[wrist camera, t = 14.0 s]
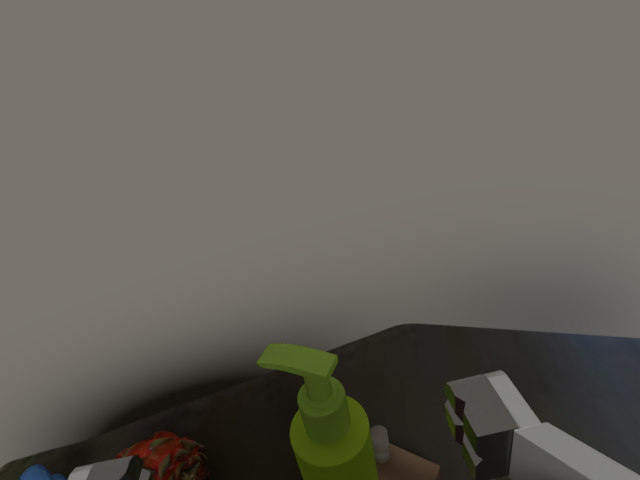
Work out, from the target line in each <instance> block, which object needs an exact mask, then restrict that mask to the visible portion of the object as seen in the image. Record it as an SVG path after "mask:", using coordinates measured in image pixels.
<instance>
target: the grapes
mask: <svg viewBox="0 0 640 480" xmlns="http://www.w3.org/2000/svg"><path fill="white" fill-rule="evenodd" d="M19 480H67V479H66V478H65V477H64V476H63V475H60V474H57V473H56V474H54V475H50V472H49V471H48V470H47V469H46V468H45V466H41V465H38V464H37V465H34V466H31V467H29V468H28V469H27V470H26V471H25V472H24V473H23V474H22V475H21V477H20V478H19Z"/></svg>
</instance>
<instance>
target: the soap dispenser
mask: <svg viewBox="0 0 640 480" xmlns="http://www.w3.org/2000/svg"><path fill="white" fill-rule="evenodd" d="M337 363H338V357H337V355H335V354H332V353H328V352H324V351H321V350H317V349H313V348H309V347H305V346H300V345H294V344H283V343H276V344H269V345H268V346H267V348H266V349H265V351H264V352H263V353H262V355H261V356H260V358H259V359H258V361H257V362H256V364H257V365H259V366H260V367H261V368H266V369H276V370H281V371H285V372H289V373H293V374H297V375H300V376H303V378H304V382H305V383H304V384H303V386H302V387H301V388H300V390H299V392H298V396H297V403H298V407H299V410H298V411H297V413H296V414H295V416H294V418H293V420H292V423H291V426H290V441H291V445H292V448H293V451H294V454H295V457H296V460H297V463H298V466H299V469H300V472H301V475H302V478H303V480H379V479H378V473H377V467H376V462H375V456H374V450H373V444H372V438H371V432H370V427H369V421H368V417H367V414H366V412H365V410H364V409H363V407H362V406H361V405H360V404H359V403H358V402H357V401H356V400H354V399H353V398H351V397H348V396H346V394H345V390H344V387H343V385H342V384H341V382H340V381H339V380H337V379H336V378H333V377H331V375H332V373H333V371H334V369H335V367H336V365H337Z"/></svg>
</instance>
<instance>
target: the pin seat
mask: <svg viewBox="0 0 640 480" xmlns="http://www.w3.org/2000/svg"><path fill="white" fill-rule="evenodd" d="M370 432H371V438H372V444H373V450H374V456H375V462H376V467H377V473H378V479H379V480H440V466H439V465H437V464H435V463H432V462H430V461H428V460H426V459H423V458H421V457H419V456H417V455H415V454H412V453H410V452H408V451H406V450H403V449H401V448H399V447H397V446H395V445H392V444H390V443H389V441H388V433H387V430H386V428H385V427H383V426H381V425H375V426H373V427H372V428H371V429H370Z"/></svg>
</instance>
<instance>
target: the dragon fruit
mask: <svg viewBox="0 0 640 480" xmlns="http://www.w3.org/2000/svg"><path fill="white" fill-rule="evenodd" d="M204 448H205V445H200V444H198V443H197V442H196V441H195V440H193V439H192V438H189V437H184V438H179V437H178V436H177V435H176V434H174V433H172V432H169V431H158V432H155V433H154V434H153V435H152V436H151V437H150V438H148V439H147V440H145V441H140V442H137V443H136V444H134V445H133V446H131V447H130V448H128V449H125V450H123V451H121V452H120V453H119V454H118V455H117V456H116V459H118V458H123V457H128V456H132V455H137V454H138V455H139V456H140V457H141V459H142V460H143V461H144V463H143V467H142V469H145V470H147V471H150V472H151V474H152V475H153V477H154V479H155V480H208V478H209V475H210V471H211V467H210V466H209V461H208V459H207V457H206V456H205V455H204V454H203V452H204Z"/></svg>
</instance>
